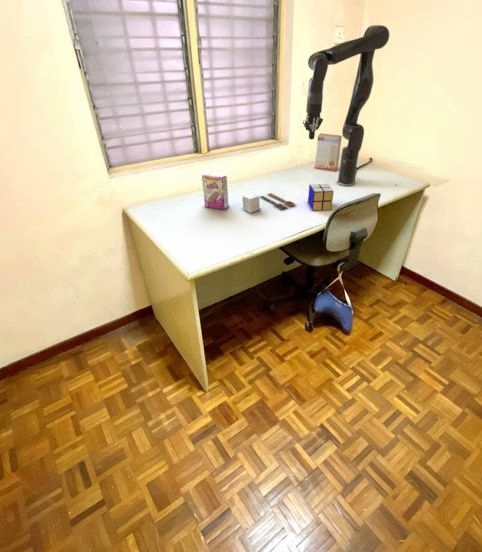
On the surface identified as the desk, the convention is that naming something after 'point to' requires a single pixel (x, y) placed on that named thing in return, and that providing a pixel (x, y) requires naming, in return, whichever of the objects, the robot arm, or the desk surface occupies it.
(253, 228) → the desk surface
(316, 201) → the puzzle cube
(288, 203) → the salad spoon
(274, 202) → the salad fork
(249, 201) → the product box
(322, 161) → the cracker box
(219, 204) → the candy bar box
